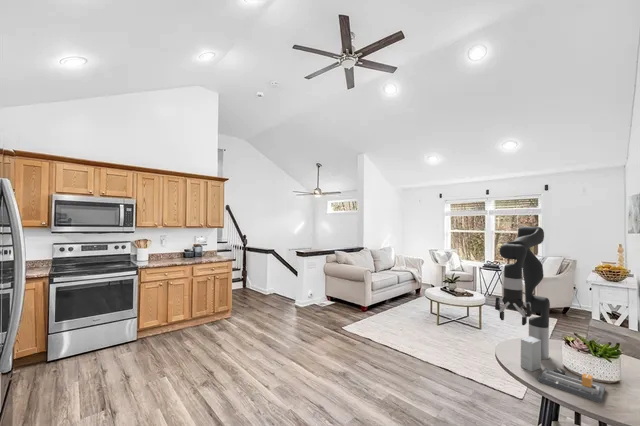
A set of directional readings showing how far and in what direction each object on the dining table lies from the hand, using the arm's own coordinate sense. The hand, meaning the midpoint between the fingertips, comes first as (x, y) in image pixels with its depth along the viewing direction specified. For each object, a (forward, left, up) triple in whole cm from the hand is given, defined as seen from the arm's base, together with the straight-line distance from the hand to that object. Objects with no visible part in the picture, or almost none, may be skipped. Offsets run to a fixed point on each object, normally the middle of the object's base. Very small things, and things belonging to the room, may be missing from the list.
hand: (512, 322), depth 141 cm
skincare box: (-26, +1, -30) cm, 39 cm away
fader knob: (-19, +24, -27) cm, 41 cm away
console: (-20, +18, -29) cm, 40 cm away
